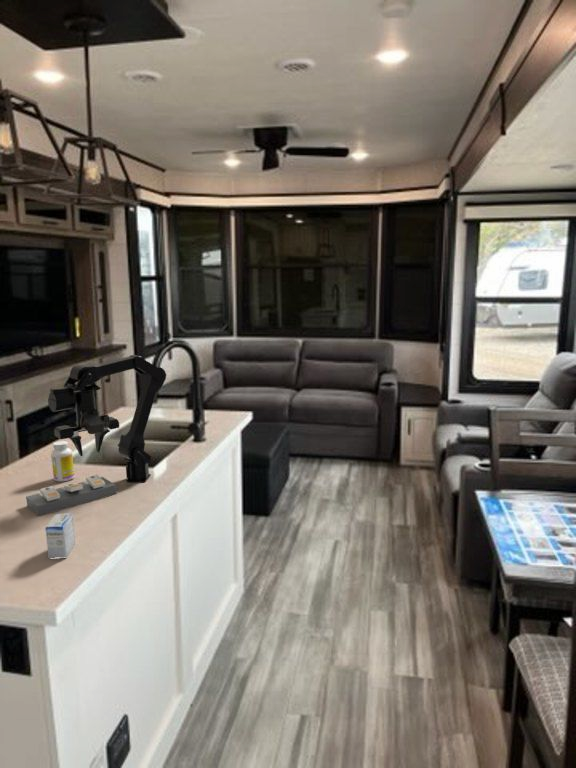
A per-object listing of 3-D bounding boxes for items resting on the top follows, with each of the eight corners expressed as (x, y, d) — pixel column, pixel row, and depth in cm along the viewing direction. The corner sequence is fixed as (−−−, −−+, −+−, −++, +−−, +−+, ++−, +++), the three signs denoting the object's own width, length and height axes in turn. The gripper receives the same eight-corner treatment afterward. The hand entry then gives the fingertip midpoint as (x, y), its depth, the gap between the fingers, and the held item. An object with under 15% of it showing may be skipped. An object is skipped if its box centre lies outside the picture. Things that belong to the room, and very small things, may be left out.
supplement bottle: (78, 475, 198) (74, 440, 196) (69, 482, 192) (65, 445, 189) (59, 475, 199) (56, 439, 196) (50, 482, 192) (46, 445, 190)
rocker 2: (85, 480, 180) (85, 477, 180) (96, 477, 183) (96, 474, 182) (93, 488, 176) (93, 485, 176) (105, 485, 179) (105, 482, 178)
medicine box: (58, 545, 147) (54, 513, 146) (76, 544, 148) (72, 512, 146) (48, 560, 140) (44, 527, 138) (67, 559, 140) (63, 526, 138)
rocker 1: (40, 492, 171) (40, 488, 171) (52, 489, 174) (52, 485, 173) (47, 501, 167) (47, 497, 167) (60, 497, 170) (59, 494, 169)
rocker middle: (64, 489, 176) (63, 485, 176) (75, 486, 178) (75, 482, 178) (71, 491, 171) (70, 487, 171) (83, 488, 174) (82, 484, 174)
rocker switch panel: (103, 485, 188) (102, 475, 188) (116, 493, 181) (115, 483, 180) (27, 506, 173) (25, 495, 172) (38, 516, 165) (37, 504, 165)
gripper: (64, 415, 164) (69, 467, 167) (125, 404, 176) (129, 453, 180) (51, 409, 173) (56, 458, 176) (109, 399, 185) (113, 445, 188)
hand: (89, 453), depth 179 cm, fingers open, 5 cm apart
